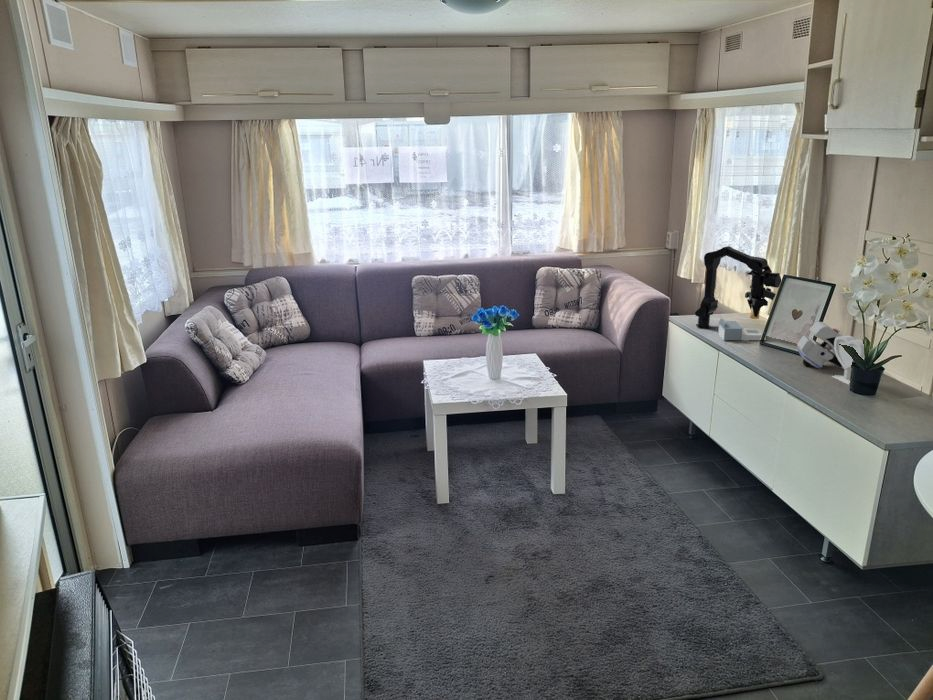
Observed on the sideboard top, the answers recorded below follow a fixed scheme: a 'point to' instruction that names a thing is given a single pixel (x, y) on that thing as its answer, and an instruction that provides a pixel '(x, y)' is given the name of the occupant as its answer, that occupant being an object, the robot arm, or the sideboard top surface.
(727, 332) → the cabinet
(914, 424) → the sideboard top surface
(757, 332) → the housing
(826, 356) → the robotic device
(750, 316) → the rounded peg
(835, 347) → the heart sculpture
